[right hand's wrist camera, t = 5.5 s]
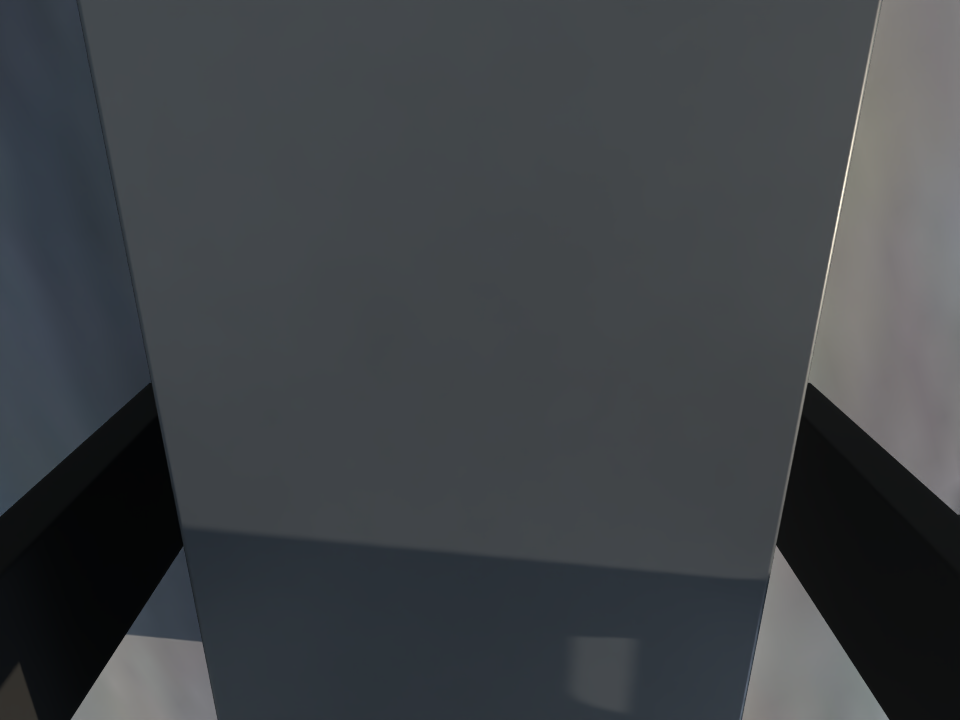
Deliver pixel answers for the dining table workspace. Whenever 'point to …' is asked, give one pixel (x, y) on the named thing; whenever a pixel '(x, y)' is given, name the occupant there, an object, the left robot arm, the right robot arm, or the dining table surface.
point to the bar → (479, 334)
